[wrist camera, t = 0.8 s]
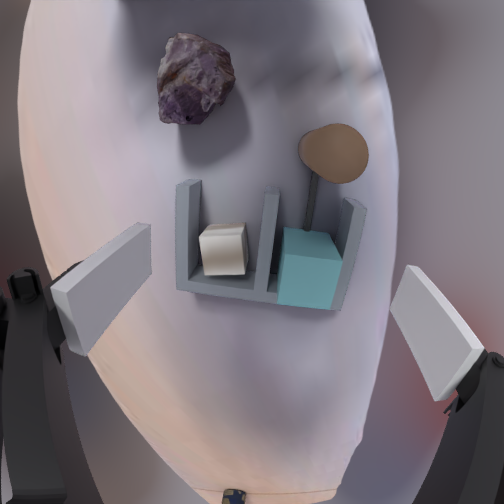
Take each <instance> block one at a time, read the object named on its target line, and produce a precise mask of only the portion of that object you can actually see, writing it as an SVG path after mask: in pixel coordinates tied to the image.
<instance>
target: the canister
mask: <svg viewBox="0 0 504 504" xmlns="http://www.w3.org/2000/svg"><path fill="white" fill-rule="evenodd" d="M245 498H246V494H245V492H243V491H239V490H225V491H224V494H223V499H222V504H245Z"/></svg>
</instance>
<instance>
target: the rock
mask: <svg viewBox="0 0 504 504" xmlns="http://www.w3.org/2000/svg"><path fill="white" fill-rule="evenodd" d="M165 49H166V55H165V57H164V58H161V61H160V62H161V63H160V67H159V70H158V74H157V75H158V78H157V89H158V94H159V102H158V104H159V108H160V110H159V117H160V120H161V121H162V122H164V123H168V124H169V123H178V124H201V123H202V122H203V121H204V119H205V118H207V117H208V115H209V113H211V112H212V110H213V108H214V106H215V104H216V103H217V104H219V105H220V106H221V105H222V104H223V103H224V101H225V99H226V97H227V95H228V94H229V92H230V91H231V90H232V88H233V85H234V82H235V80H236V78H235V76H234V69H233V67H232V64H231V59H230V53H229V52H228V51H226V50H225V49H224V48H223V47H222V46H220V45H218V44H214V43H212V42H210V41H208V40H206V39H204V38H202V37H200V36H199V35H193V34H189V33H177V34H176V35H175V36H174V37H170V38H169V40H168V43H167V45H166V47H165Z"/></svg>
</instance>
